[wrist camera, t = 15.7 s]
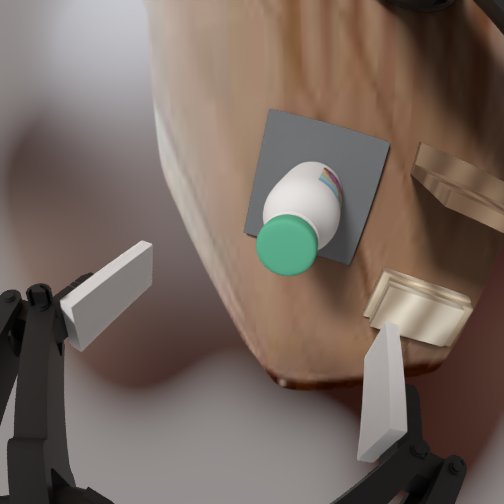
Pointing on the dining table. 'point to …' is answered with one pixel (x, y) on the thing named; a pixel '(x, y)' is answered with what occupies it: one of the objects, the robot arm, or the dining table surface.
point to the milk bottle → (299, 218)
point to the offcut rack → (419, 291)
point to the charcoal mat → (326, 152)
